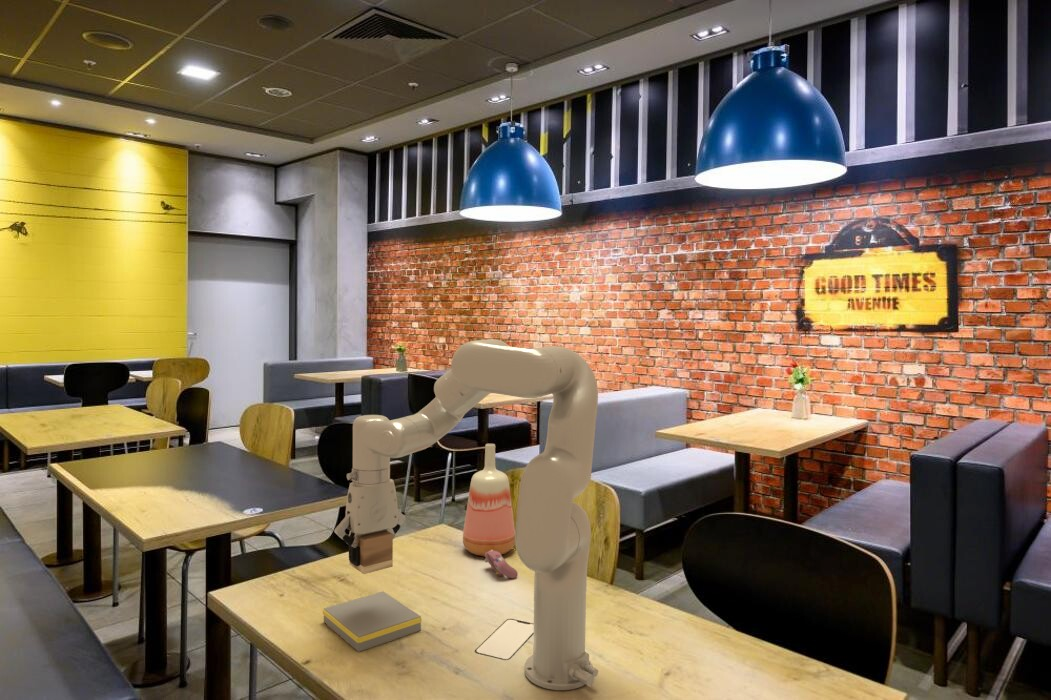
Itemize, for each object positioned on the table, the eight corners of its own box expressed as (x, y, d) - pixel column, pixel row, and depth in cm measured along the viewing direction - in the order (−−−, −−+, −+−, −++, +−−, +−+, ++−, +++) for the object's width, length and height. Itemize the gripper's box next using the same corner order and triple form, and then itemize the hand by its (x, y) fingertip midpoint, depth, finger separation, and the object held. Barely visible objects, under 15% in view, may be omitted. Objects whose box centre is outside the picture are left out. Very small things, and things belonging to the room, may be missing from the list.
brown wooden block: (392, 566, 141) (392, 533, 141) (363, 574, 137) (364, 540, 137) (377, 557, 146) (377, 525, 146) (349, 564, 142) (349, 531, 142)
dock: (421, 630, 141) (421, 616, 140) (358, 652, 131) (358, 637, 131) (383, 604, 153) (383, 591, 153) (322, 622, 144) (322, 608, 144)
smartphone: (508, 663, 129) (541, 627, 144) (508, 661, 129) (541, 625, 143) (472, 654, 132) (507, 620, 147) (472, 652, 132) (507, 617, 147)
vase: (482, 538, 197) (483, 437, 195) (524, 548, 190) (526, 443, 188) (452, 554, 185) (452, 446, 183) (496, 564, 177) (497, 452, 176)
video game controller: (489, 573, 176) (478, 551, 174) (504, 563, 178) (493, 541, 176) (505, 587, 167) (493, 564, 165) (520, 576, 169) (508, 553, 167)
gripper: (340, 485, 132) (339, 576, 133) (417, 473, 143) (416, 556, 144) (323, 478, 138) (323, 564, 139) (399, 466, 149) (398, 546, 150)
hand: (371, 559), depth 142 cm, fingers closed on brown wooden block, 6 cm apart
